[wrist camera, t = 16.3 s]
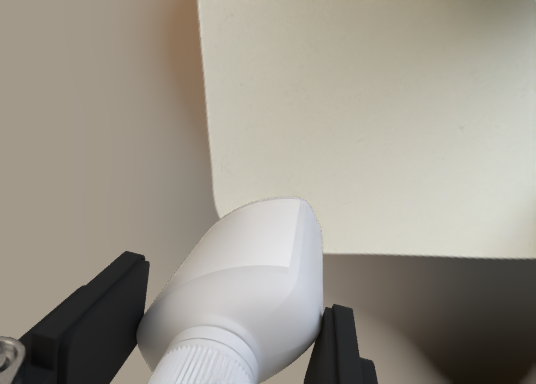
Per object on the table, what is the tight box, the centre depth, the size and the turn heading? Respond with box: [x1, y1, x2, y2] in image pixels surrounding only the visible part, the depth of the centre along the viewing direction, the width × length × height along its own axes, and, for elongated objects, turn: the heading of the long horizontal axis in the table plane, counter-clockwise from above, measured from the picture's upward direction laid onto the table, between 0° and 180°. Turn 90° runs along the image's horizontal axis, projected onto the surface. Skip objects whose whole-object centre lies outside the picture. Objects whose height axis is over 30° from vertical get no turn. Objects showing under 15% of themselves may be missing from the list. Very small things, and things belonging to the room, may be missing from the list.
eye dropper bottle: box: [136, 197, 323, 384], centre depth 12 cm, size 4×6×12 cm
